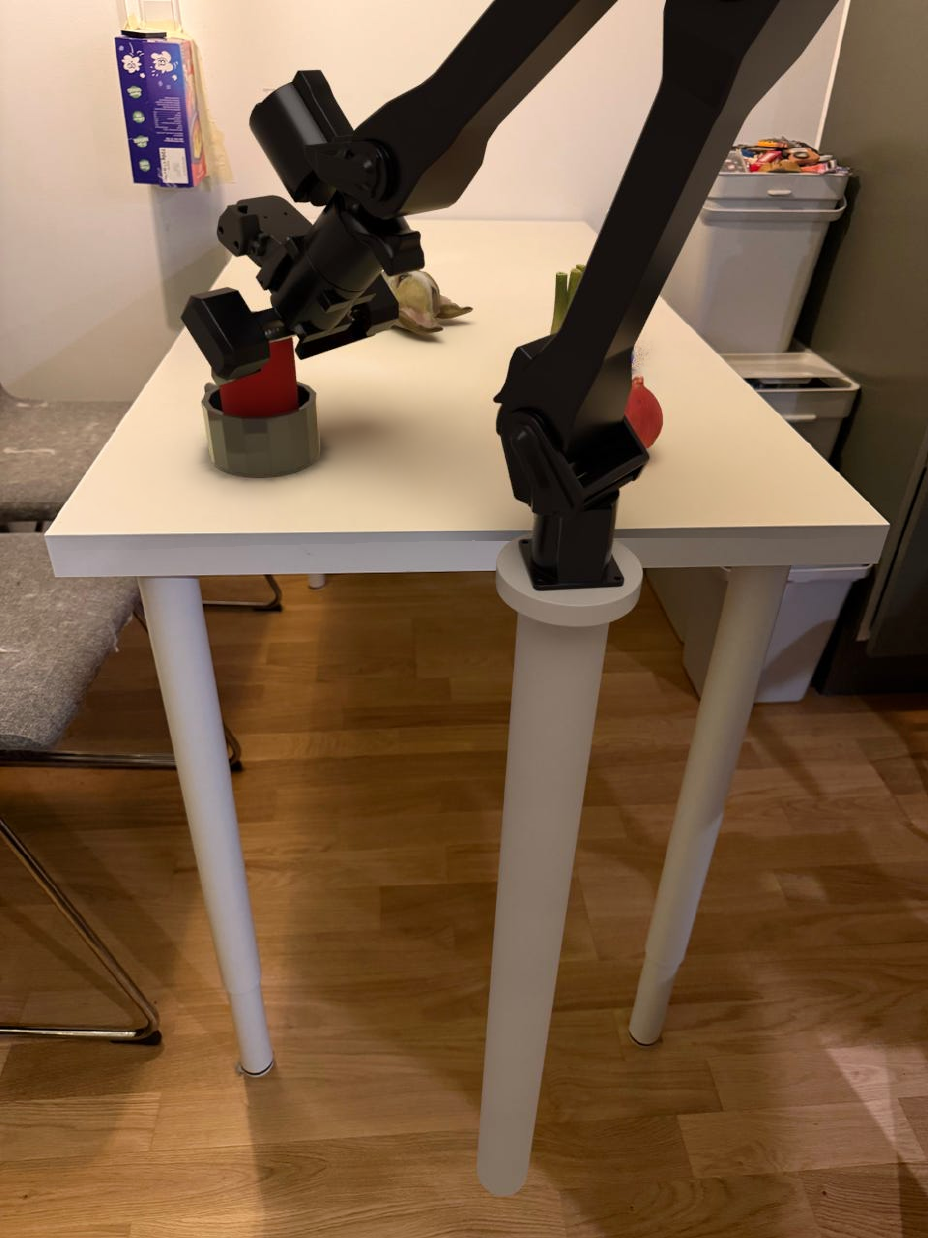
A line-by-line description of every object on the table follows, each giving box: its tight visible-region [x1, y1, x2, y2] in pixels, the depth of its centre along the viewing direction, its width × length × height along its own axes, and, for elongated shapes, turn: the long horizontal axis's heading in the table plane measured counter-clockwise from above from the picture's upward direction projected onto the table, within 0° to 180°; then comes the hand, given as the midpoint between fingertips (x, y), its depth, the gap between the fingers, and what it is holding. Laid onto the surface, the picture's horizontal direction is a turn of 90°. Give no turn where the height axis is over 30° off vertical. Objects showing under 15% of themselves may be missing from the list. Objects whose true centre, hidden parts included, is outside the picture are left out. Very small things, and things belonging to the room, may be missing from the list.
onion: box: [624, 375, 664, 450], centre depth 80 cm, size 6×6×8 cm
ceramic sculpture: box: [381, 270, 474, 335], centre depth 112 cm, size 11×9×15 cm
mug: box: [200, 380, 321, 478], centre depth 81 cm, size 13×10×6 cm
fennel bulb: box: [549, 264, 586, 335], centre depth 97 cm, size 6×5×12 cm
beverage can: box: [219, 310, 299, 416], centre depth 78 cm, size 7×7×12 cm
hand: (258, 367), depth 77 cm, fingers open, 9 cm apart
